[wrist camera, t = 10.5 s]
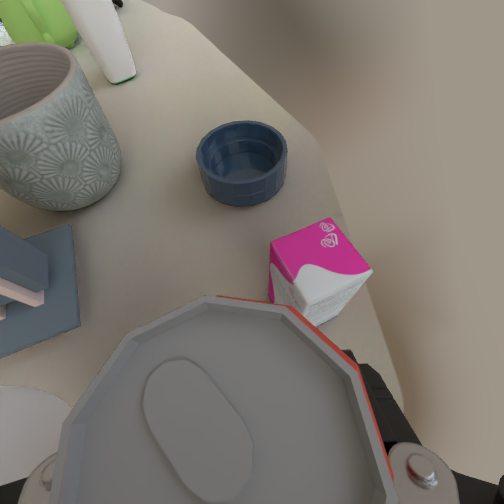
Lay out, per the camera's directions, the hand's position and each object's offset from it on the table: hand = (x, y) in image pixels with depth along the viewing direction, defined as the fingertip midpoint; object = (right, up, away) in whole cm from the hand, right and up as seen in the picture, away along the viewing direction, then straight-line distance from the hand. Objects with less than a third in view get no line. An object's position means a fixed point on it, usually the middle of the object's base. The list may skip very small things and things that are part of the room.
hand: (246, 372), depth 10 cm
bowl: (-1, +16, +29) cm, 33 cm away
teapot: (-49, +57, +55) cm, 93 cm away
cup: (-27, +42, +45) cm, 68 cm away
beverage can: (0, -4, +5) cm, 6 cm away
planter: (-26, +15, +30) cm, 43 cm away
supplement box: (+6, -1, +19) cm, 20 cm away
